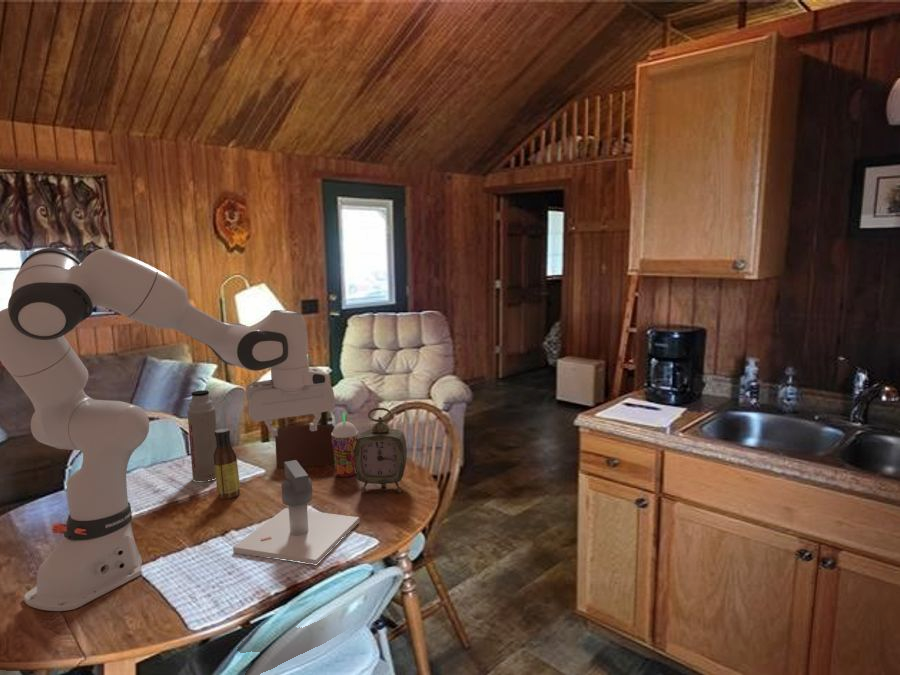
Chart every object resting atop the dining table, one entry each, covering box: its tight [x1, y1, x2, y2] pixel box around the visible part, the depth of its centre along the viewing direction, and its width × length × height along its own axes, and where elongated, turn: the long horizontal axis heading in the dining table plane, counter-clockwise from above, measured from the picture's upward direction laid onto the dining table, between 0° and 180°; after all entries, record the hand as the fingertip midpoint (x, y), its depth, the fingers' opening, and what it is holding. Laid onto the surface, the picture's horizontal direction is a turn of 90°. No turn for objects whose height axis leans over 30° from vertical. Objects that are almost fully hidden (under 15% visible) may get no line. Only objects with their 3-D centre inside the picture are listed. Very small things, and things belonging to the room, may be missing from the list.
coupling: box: [280, 460, 314, 507], centre depth 141 cm, size 12×7×8 cm, turn 28°
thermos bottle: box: [186, 389, 218, 482], centre depth 181 cm, size 8×8×28 cm
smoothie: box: [331, 412, 359, 478], centre depth 183 cm, size 8×8×20 cm
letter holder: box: [274, 424, 335, 469], centre depth 196 cm, size 10×20×14 cm, turn 97°
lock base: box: [232, 503, 360, 564], centre depth 143 cm, size 22×22×10 cm
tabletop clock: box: [354, 407, 408, 493], centre depth 170 cm, size 14×9×25 cm, turn 88°
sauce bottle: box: [214, 427, 241, 500], centre depth 168 cm, size 6×6×20 cm
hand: (294, 433), depth 140 cm, fingers open, 8 cm apart
